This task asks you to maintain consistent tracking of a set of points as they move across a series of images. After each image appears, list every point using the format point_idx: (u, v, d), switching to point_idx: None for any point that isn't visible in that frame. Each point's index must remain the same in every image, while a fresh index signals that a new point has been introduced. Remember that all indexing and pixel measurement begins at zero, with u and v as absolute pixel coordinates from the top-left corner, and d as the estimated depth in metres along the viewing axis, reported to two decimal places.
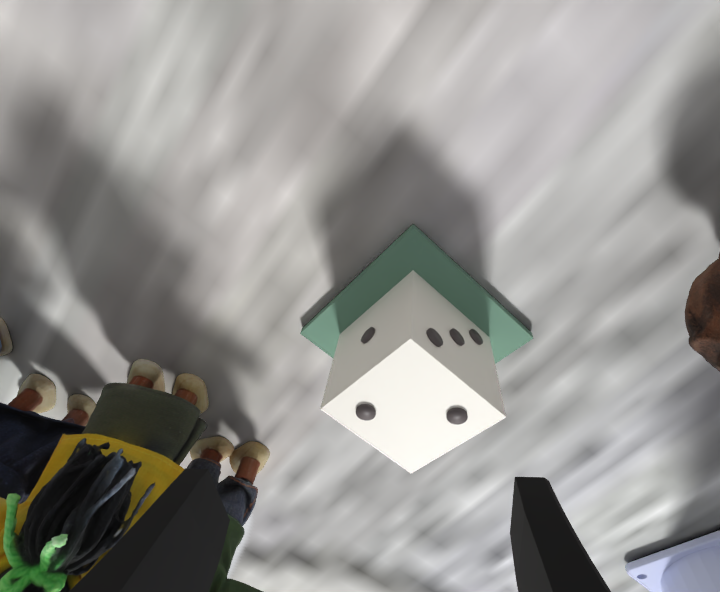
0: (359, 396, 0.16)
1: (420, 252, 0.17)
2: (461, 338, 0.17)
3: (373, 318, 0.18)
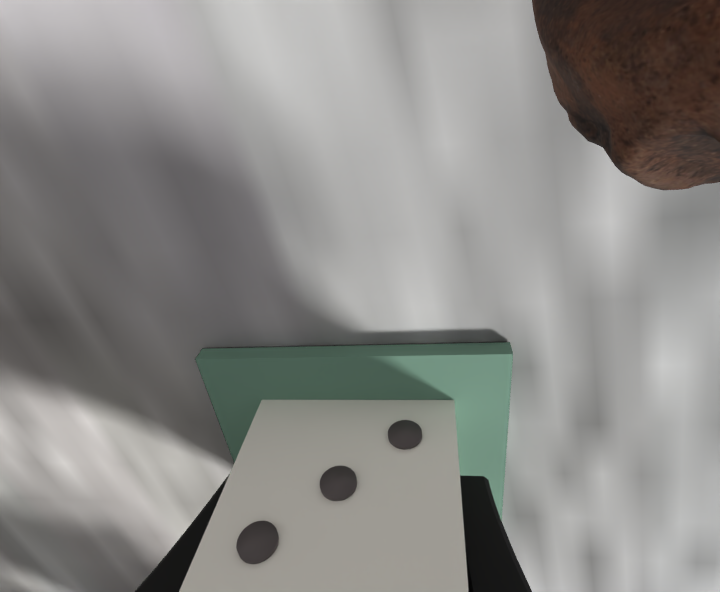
0: None
1: (237, 375, 0.11)
2: (347, 479, 0.09)
3: None
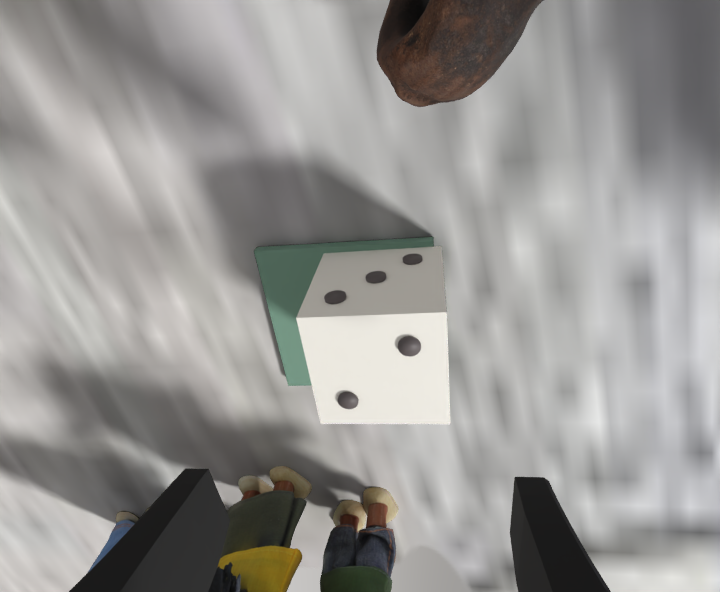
0: (328, 392, 0.15)
1: (278, 261, 0.18)
2: (381, 274, 0.15)
3: None
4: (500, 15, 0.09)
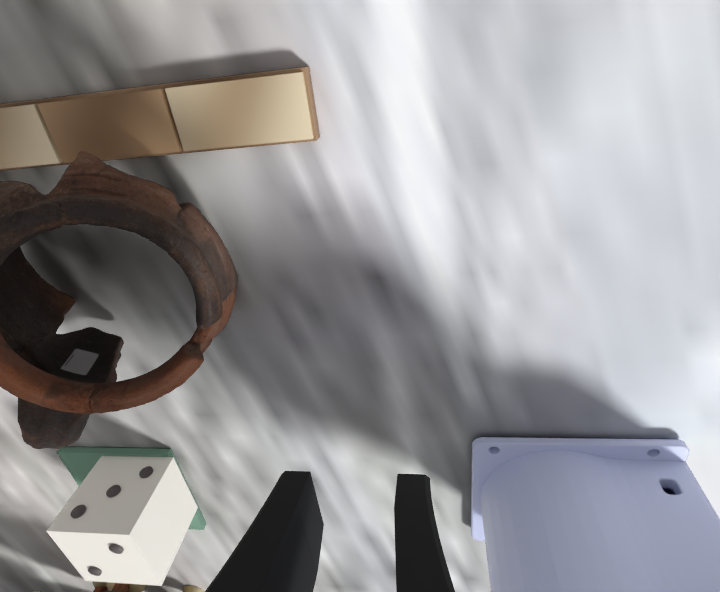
0: (82, 566, 0.24)
1: (74, 458, 0.27)
2: (116, 489, 0.24)
3: None
4: (54, 431, 0.17)
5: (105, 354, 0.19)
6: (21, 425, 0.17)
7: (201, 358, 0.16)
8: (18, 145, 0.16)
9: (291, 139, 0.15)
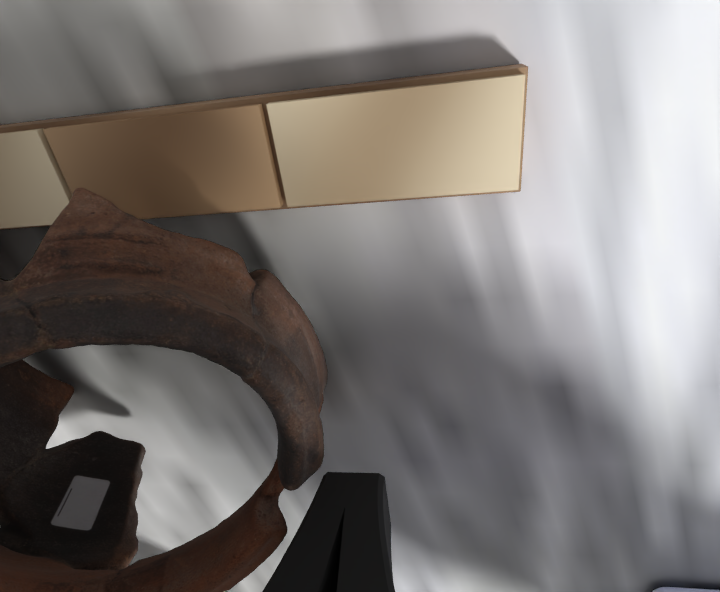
0: None
1: None
2: None
3: None
4: None
5: (120, 480, 0.13)
6: None
7: (284, 531, 0.09)
8: (12, 194, 0.10)
9: (480, 190, 0.09)
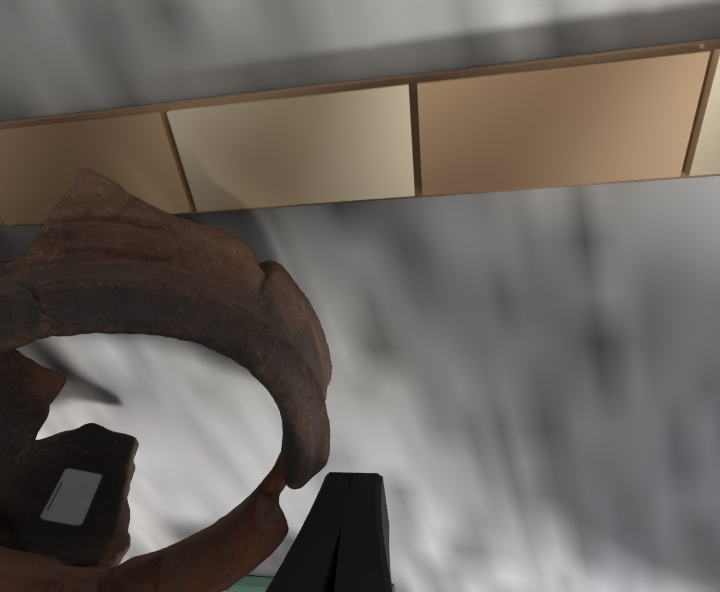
0: None
1: None
2: None
3: None
4: None
5: (112, 474, 0.13)
6: None
7: (285, 530, 0.09)
8: (344, 163, 0.09)
9: None
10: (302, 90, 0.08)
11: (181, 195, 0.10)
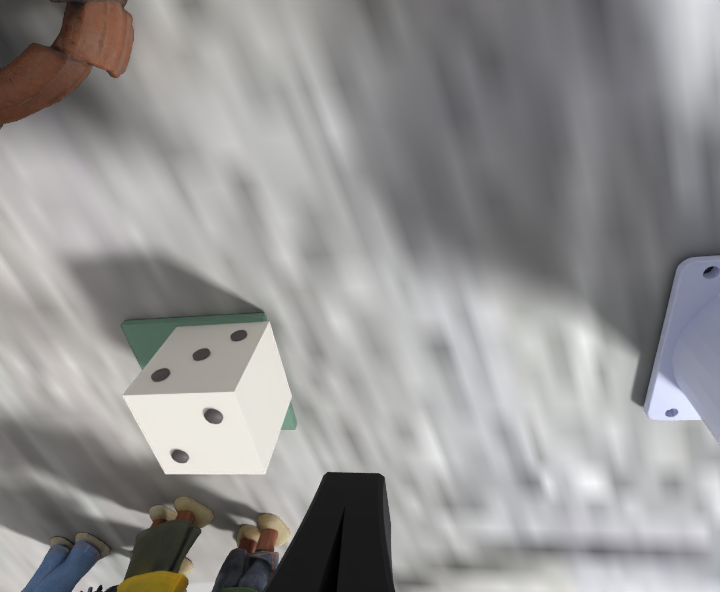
0: (163, 450, 0.19)
1: (141, 333, 0.21)
2: (205, 352, 0.19)
3: None
4: None
5: None
6: None
7: (60, 57, 0.12)
8: None
9: None
10: None
11: None
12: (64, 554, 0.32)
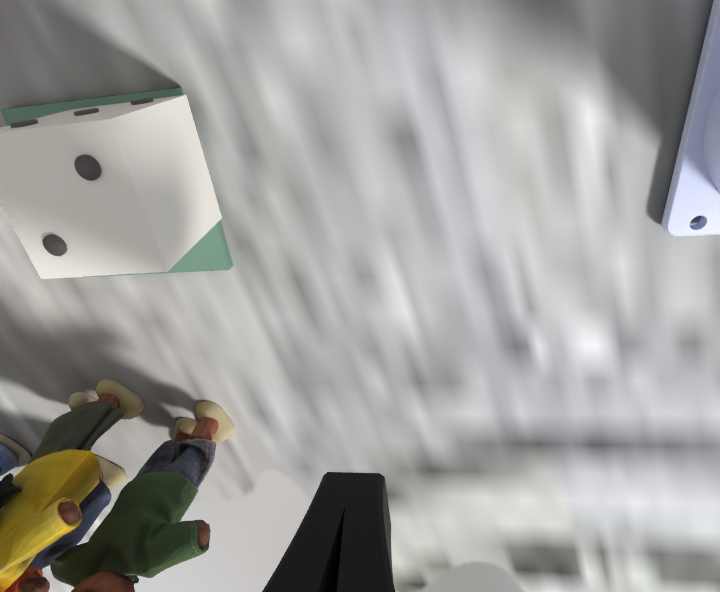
0: (33, 235, 0.14)
1: None
2: (91, 109, 0.14)
3: None
4: None
5: None
6: None
7: None
8: None
9: None
10: None
11: None
12: None
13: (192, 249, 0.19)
